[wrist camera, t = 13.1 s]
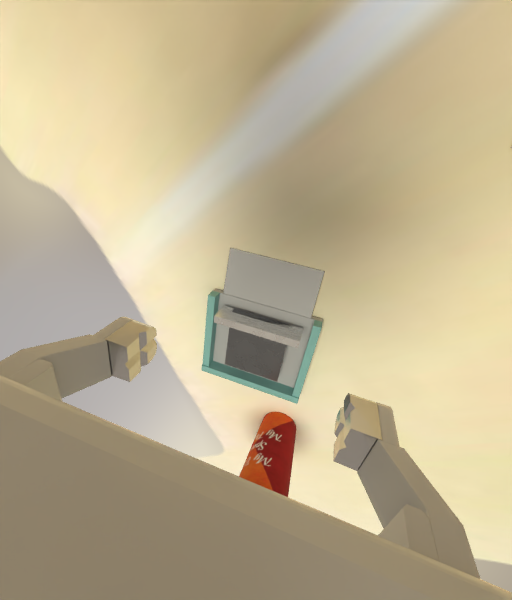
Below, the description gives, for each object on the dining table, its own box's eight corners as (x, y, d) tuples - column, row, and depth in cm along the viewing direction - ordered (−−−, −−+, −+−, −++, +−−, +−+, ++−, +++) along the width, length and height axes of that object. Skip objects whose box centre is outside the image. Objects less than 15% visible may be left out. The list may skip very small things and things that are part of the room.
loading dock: (222, 243, 35) (211, 250, 32) (337, 271, 32) (336, 282, 29) (211, 356, 44) (201, 370, 41) (300, 386, 41) (297, 403, 38)
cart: (225, 303, 37) (214, 315, 34) (304, 326, 35) (300, 341, 32) (219, 354, 41) (209, 369, 38) (289, 377, 39) (284, 395, 36)
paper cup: (275, 399, 43) (247, 489, 31) (312, 429, 43) (299, 529, 31) (248, 420, 47) (214, 507, 35) (282, 447, 47) (260, 543, 35)
